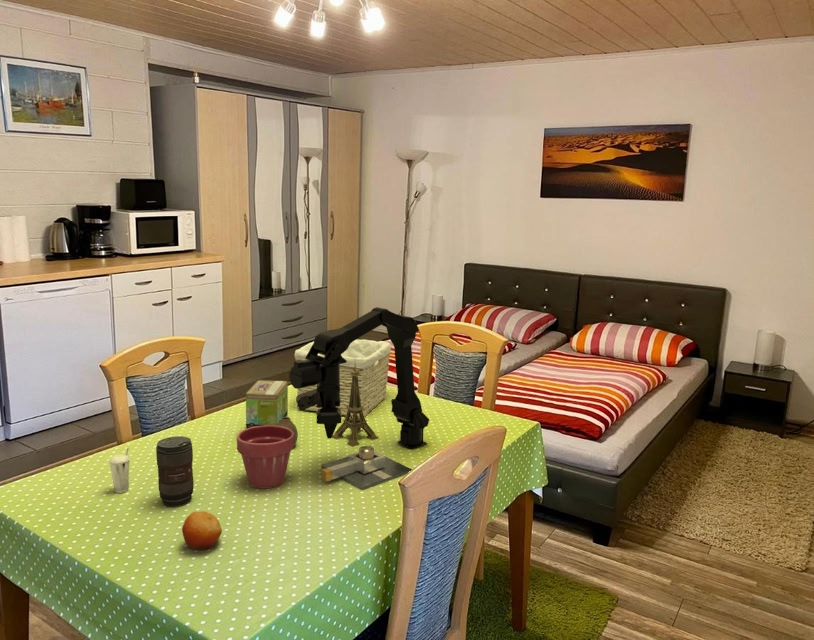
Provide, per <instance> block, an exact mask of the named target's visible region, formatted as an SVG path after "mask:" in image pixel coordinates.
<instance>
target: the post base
mask: <svg viewBox="0 0 814 640" xmlns="http://www.w3.org/2000/svg"><path fill="white" fill-rule="evenodd" d="M358 452H359V458H360V459H362V460H364V461H367V460H370V459H373V458H374V452H376V453H378V454H380V455H382V454H381V453H379V452H377V451H376V450H375V448H374V447H373V446H371V445H365V446H360V447H359V448H358ZM344 462H348V456H345V457H342V458H338V459H334V460H331V461H329V462H324V463H322V464H321V465H320V466H321V468H322V469H326V468H329V467H332V466H335V465H338V464H341V463H344ZM411 470H412V471H413V469H412V468H411V467H408V466H406V465H404V464H402V463H400V462H398V461H396V460H395V459H394V460H393V459H391V458H390V457H387V456H385V467H383V468H380V469H377V470H374V471H371V472H368V473H365V474H364V473H362V472H360V471H356V472H353V473H350V474H347V475H344V476H341V477H338V479H341V480H343V481H345V482H347V483H349V484H350V485H352V486H354V487H356V488H357V489H359V490H360V491H364V490H366V489H369V488H373V487H375V486H379V485H380V484H383V483H385V482H388V481H391V480H394V479H397V478H399V477H403V476H405V475H408V474H409V473H408V472H409V471H411ZM407 473H408V474H407Z"/></svg>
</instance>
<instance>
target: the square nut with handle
mask: <svg viewBox="0 0 814 640" xmlns="http://www.w3.org/2000/svg"><path fill="white" fill-rule="evenodd" d="M376 452H377V451H375V452H374V458H373V459H370V460H367V461H364V460H362V459H360V458H359V451H357V452H355V453H351V454H348V455H347V457H348V462H344V463H341V464H338V465H335V466H332V467H329V468H326V469H323V468H322V469H321V470H320V471H321V479H322V480H323V481H325V482H330V481H331V480H332V481H333V480H334V479H339V477H341V476H344V475H347V474H350V473H353V472H356V471H360V472H362V473H364V474H365V473H368V472H371V471H374V470H377V469H380V468H383V467H385V457H386V455H383V454H381V453H379V452H377V453H376ZM378 453H379V454H378ZM380 454H381V455H380Z"/></svg>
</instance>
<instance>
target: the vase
mask: <svg viewBox="0 0 814 640" xmlns="http://www.w3.org/2000/svg"><path fill="white" fill-rule="evenodd" d="M277 426H283V427H286V428H289V429H291V430H292V431H293V432H294V446H295V445H296V444H297V441H298V435H299V433H298V428H297V427H296V425H295V424H294V423H293V421H292V420H291V418H290V417H289V416H288V417H283V418H281V420H280V422H279V423H278V425H277Z"/></svg>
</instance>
